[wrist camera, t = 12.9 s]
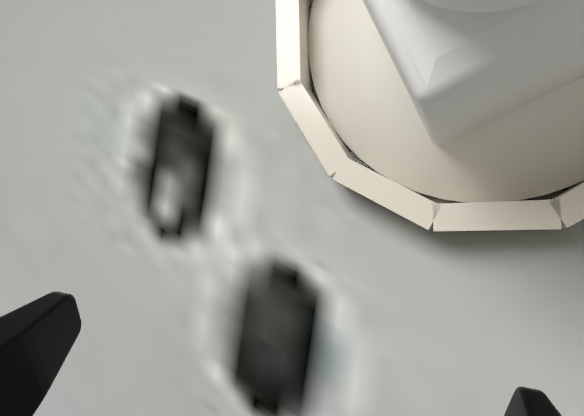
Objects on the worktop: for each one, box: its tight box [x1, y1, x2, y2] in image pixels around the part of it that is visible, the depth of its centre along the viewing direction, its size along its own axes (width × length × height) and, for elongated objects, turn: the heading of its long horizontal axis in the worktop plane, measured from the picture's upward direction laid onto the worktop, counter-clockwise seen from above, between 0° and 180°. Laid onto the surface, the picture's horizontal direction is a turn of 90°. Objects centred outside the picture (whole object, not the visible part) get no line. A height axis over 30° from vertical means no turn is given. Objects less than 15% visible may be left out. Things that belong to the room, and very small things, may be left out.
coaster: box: [276, 0, 584, 231], centre depth 18 cm, size 16×16×2 cm
